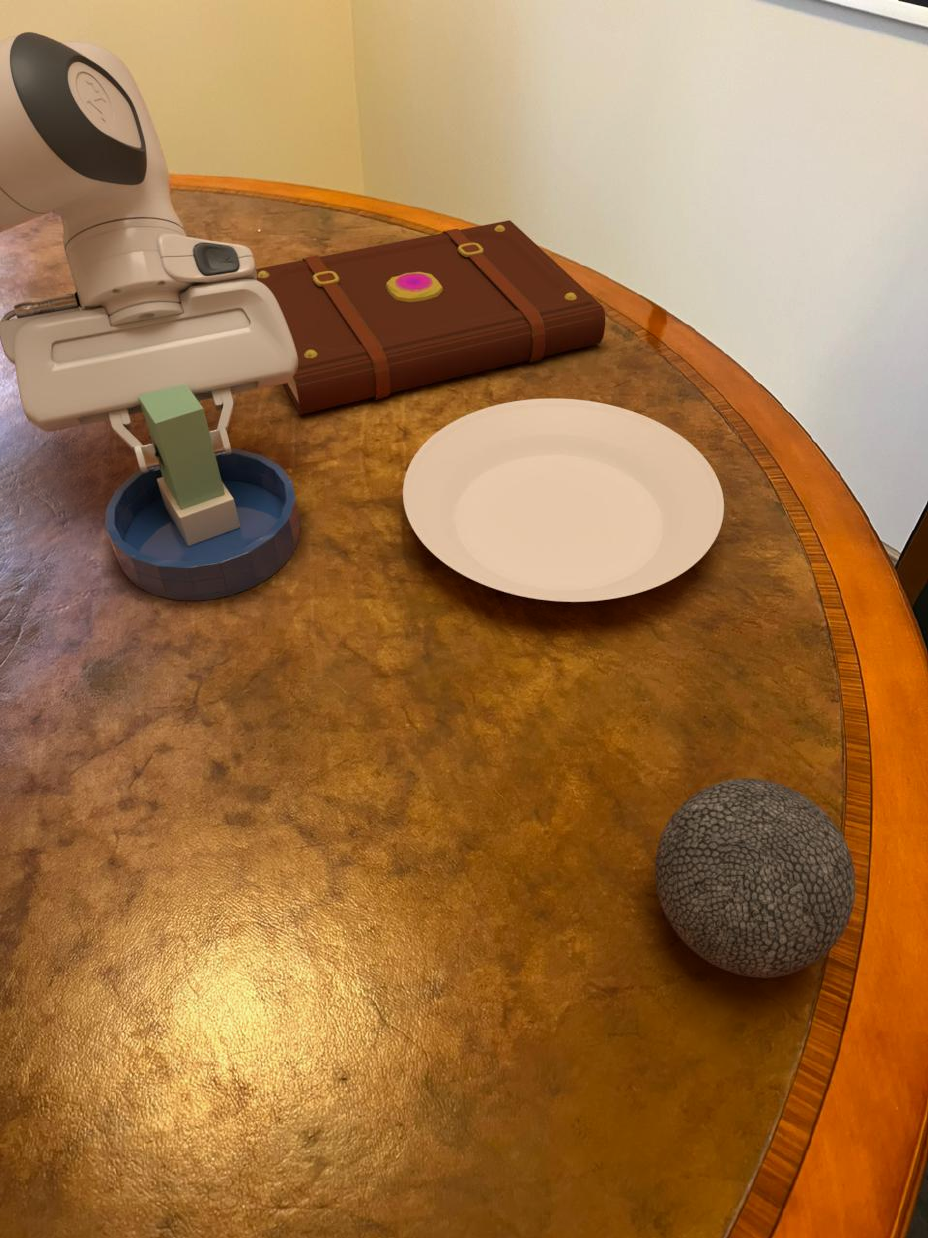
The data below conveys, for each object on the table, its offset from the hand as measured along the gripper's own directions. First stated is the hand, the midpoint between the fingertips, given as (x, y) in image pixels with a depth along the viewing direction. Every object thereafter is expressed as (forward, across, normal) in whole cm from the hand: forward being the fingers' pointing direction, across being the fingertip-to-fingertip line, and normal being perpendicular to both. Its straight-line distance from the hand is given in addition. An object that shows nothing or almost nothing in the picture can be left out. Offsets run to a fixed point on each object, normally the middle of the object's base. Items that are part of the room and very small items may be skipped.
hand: (187, 462), depth 71 cm
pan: (+6, 0, +4) cm, 7 cm away
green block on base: (+4, 0, +5) cm, 6 cm away
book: (-12, +26, +22) cm, 36 cm away
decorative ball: (+36, +22, -26) cm, 50 cm away
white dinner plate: (+12, +27, -2) cm, 29 cm away
